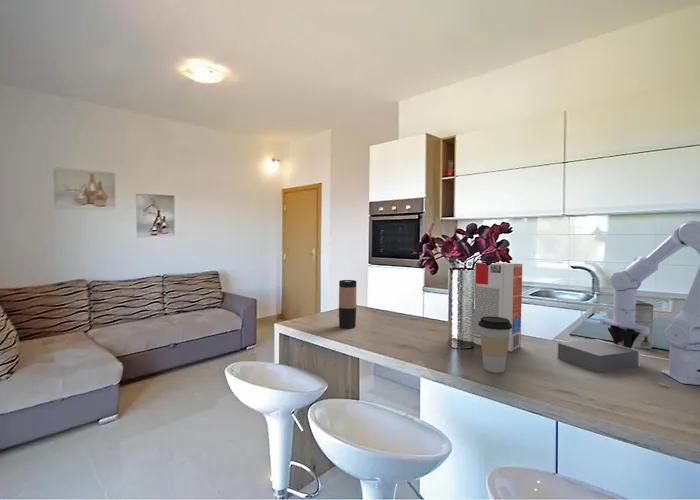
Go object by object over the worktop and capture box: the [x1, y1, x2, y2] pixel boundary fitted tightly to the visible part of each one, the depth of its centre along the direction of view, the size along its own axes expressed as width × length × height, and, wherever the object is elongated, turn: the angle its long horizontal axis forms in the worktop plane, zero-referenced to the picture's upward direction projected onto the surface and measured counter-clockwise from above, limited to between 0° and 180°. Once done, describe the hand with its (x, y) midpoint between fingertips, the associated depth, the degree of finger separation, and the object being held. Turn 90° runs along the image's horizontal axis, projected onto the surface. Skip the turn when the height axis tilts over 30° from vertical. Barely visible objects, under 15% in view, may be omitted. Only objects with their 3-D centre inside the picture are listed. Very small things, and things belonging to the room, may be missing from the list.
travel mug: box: [338, 279, 358, 330], centre depth 161 cm, size 8×8×20 cm
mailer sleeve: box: [557, 338, 639, 374], centre depth 117 cm, size 16×14×5 cm
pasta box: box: [468, 260, 523, 352], centre depth 138 cm, size 23×8×30 cm, turn 46°
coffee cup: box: [478, 316, 512, 374], centre depth 109 cm, size 9×9×15 cm
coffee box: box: [632, 300, 654, 350], centre depth 137 cm, size 9×6×16 cm
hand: (622, 350), depth 121 cm, fingers closed
